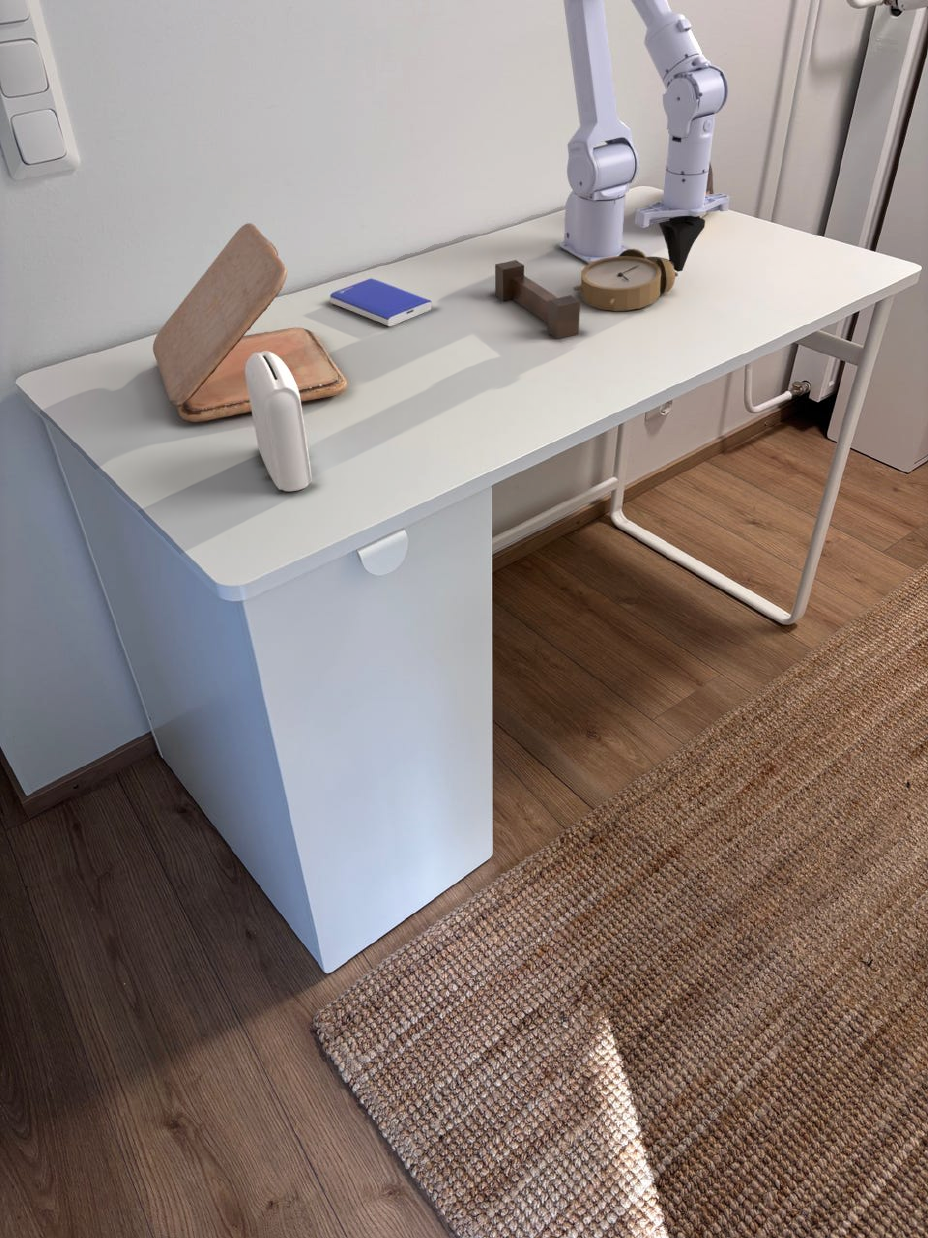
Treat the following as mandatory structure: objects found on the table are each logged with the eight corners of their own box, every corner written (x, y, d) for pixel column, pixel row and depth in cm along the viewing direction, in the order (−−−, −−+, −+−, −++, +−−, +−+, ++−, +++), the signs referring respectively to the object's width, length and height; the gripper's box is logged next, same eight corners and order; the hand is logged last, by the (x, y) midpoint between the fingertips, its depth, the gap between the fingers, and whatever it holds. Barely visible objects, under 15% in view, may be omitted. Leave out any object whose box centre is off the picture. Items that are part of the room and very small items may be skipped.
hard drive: (329, 293, 139) (387, 316, 132) (372, 276, 143) (431, 298, 136) (330, 304, 140) (388, 327, 133) (373, 287, 144) (432, 309, 137)
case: (154, 360, 127) (124, 234, 116) (312, 333, 132) (296, 210, 122) (176, 431, 112) (143, 294, 102) (353, 397, 117) (339, 263, 107)
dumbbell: (495, 295, 141) (494, 263, 138) (516, 290, 142) (516, 259, 139) (556, 339, 129) (557, 305, 126) (579, 333, 130) (581, 300, 127)
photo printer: (255, 450, 108) (236, 344, 100) (293, 442, 109) (277, 337, 101) (277, 497, 101) (257, 386, 93) (317, 487, 102) (301, 377, 94)
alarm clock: (562, 275, 138) (636, 232, 143) (565, 307, 142) (638, 263, 147) (619, 298, 131) (695, 251, 136) (621, 330, 135) (695, 284, 140)
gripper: (660, 184, 128) (650, 287, 136) (748, 168, 133) (734, 268, 141) (629, 171, 133) (622, 271, 141) (716, 156, 137) (703, 253, 146)
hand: (676, 269), depth 142 cm, fingers closed
